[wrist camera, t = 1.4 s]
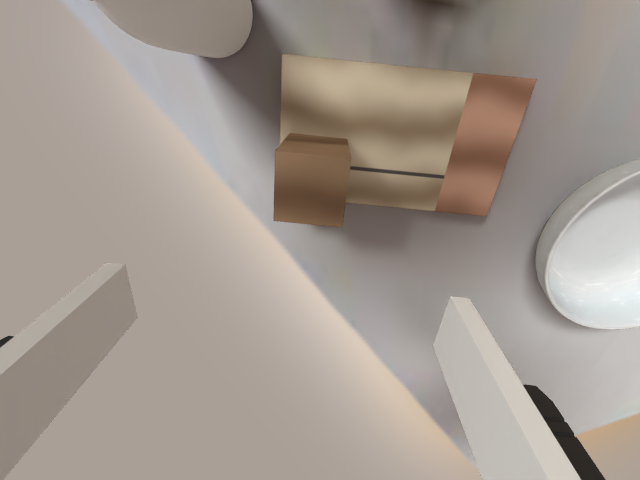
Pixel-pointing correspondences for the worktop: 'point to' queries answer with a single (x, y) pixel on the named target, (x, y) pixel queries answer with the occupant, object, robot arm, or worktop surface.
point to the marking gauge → (311, 179)
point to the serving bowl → (595, 252)
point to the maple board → (408, 128)
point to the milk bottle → (184, 23)
